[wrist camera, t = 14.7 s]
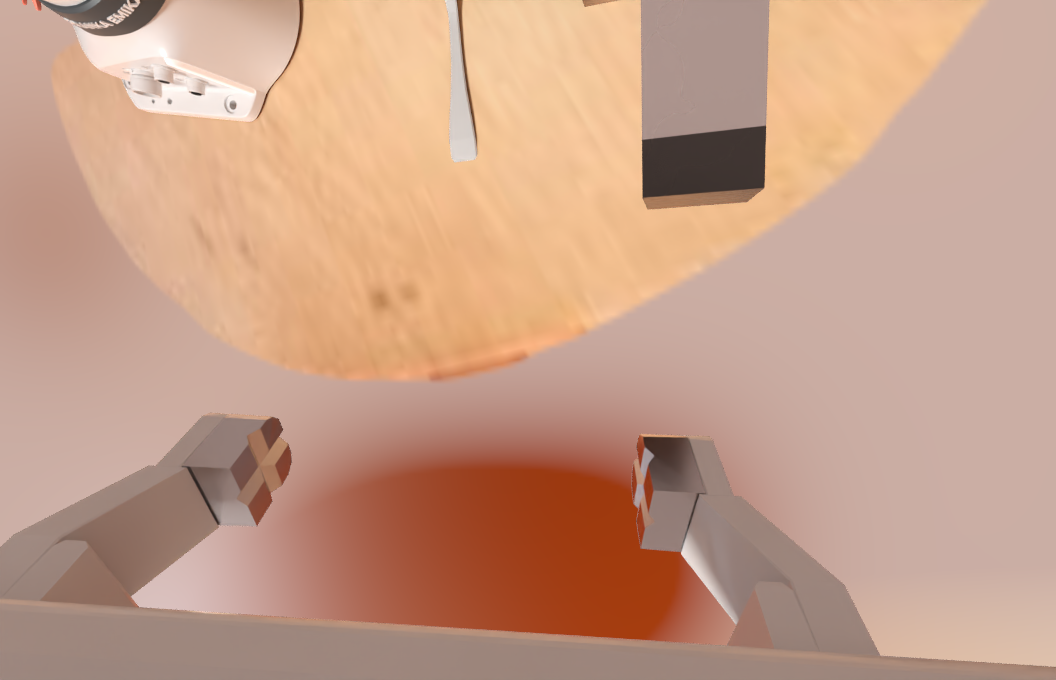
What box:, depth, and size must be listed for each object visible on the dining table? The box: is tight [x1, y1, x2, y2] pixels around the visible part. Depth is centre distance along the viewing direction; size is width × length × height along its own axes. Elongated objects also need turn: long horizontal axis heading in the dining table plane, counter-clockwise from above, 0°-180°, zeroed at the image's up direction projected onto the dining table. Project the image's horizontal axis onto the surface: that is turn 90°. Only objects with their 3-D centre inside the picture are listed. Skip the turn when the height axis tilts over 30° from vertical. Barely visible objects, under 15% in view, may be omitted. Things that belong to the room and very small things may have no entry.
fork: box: [445, 0, 477, 162], centre depth 41 cm, size 3×21×3 cm, turn 3°
